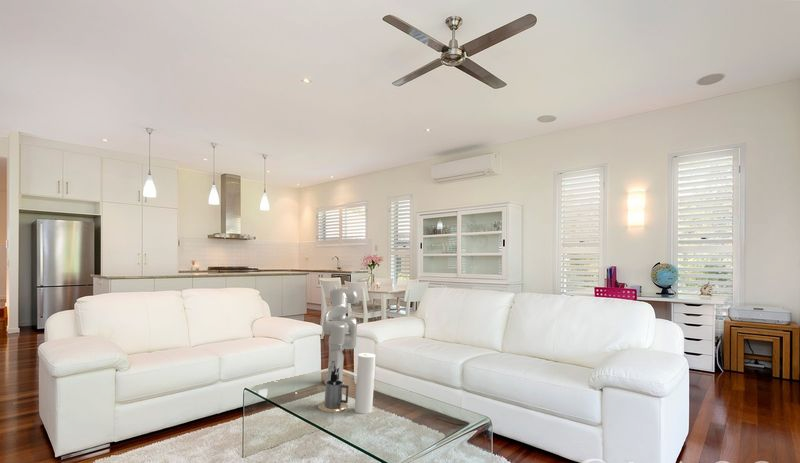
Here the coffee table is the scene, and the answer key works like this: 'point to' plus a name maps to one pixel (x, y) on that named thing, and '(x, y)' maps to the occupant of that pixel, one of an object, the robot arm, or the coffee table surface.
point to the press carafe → (334, 397)
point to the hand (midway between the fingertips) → (334, 380)
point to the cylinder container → (365, 383)
